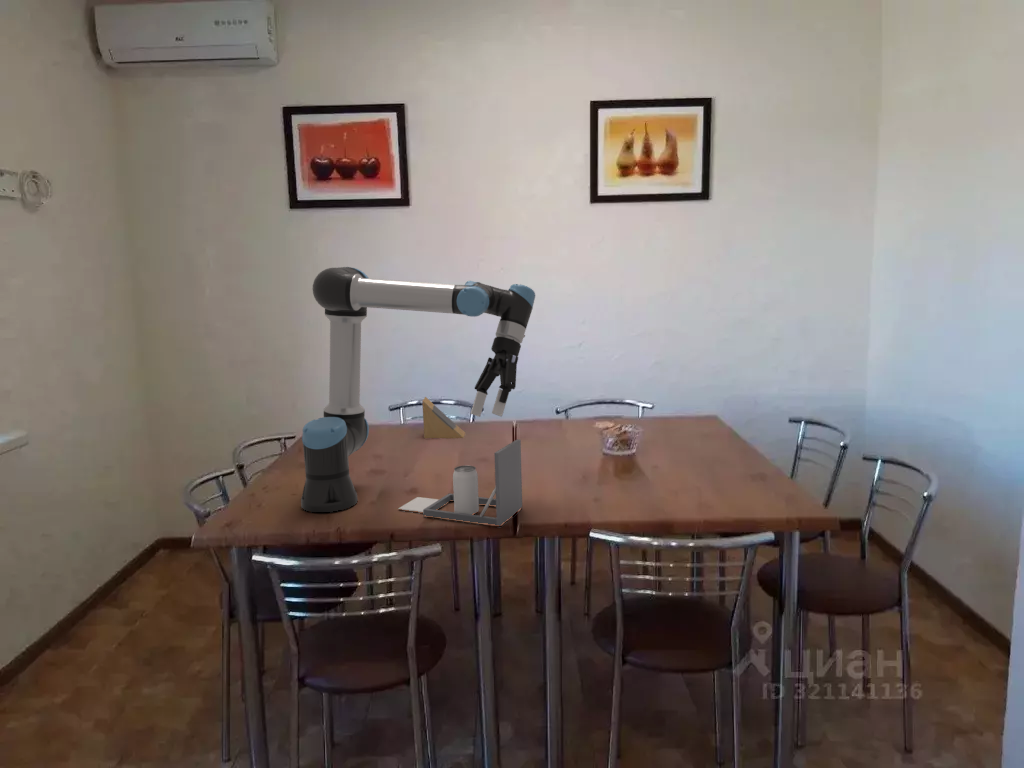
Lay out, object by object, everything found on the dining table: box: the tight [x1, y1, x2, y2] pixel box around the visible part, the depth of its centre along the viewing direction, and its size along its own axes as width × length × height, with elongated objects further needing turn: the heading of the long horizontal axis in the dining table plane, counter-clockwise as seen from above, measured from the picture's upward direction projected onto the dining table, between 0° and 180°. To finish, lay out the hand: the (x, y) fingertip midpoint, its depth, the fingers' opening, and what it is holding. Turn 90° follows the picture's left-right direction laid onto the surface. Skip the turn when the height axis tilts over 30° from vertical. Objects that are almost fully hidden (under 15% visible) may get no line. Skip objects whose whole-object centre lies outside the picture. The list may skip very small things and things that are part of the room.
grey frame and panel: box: [422, 439, 523, 526], centre depth 185 cm, size 22×14×19 cm, turn 66°
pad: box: [397, 496, 439, 512], centre depth 193 cm, size 8×10×1 cm
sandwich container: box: [421, 396, 466, 439], centre depth 271 cm, size 9×15×15 cm, turn 90°
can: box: [452, 464, 480, 514], centre depth 186 cm, size 6×6×12 cm
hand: (485, 415), depth 188 cm, fingers open, 13 cm apart
